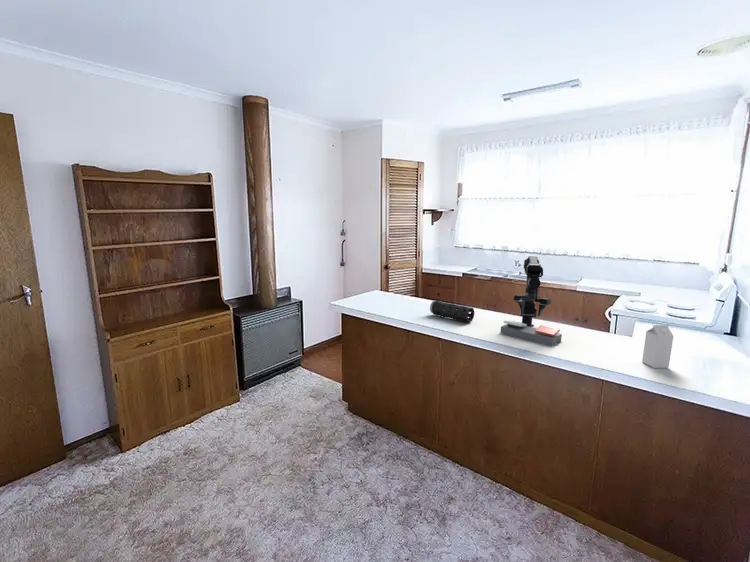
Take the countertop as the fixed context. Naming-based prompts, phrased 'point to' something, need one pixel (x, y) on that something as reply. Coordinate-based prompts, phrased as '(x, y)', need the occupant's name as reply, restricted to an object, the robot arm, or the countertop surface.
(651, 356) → the milk carton
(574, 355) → the countertop surface
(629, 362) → the countertop surface
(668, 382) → the countertop surface
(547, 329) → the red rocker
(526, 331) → the switch box
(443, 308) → the muzzle brake
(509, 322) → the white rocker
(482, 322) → the countertop surface
